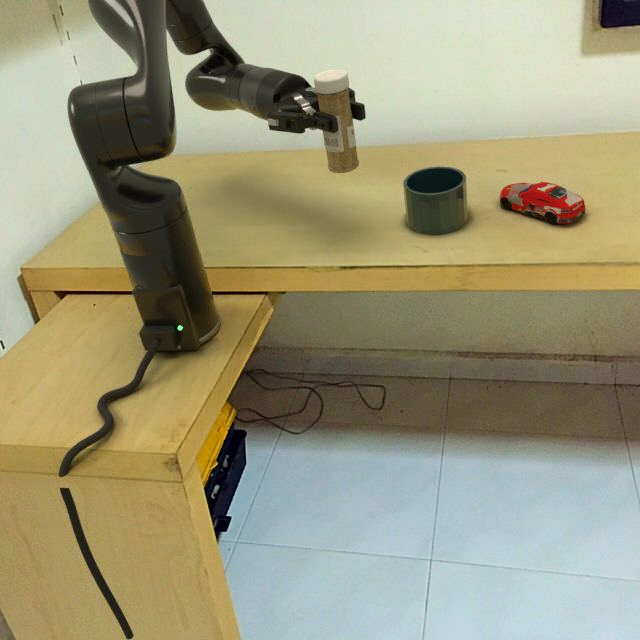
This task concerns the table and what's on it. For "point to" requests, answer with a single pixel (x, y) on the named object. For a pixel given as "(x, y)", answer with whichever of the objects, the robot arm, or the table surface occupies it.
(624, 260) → the table surface
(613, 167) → the table surface
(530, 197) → the race car
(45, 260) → the table surface
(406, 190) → the cup
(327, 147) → the sprinkles bottle
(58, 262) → the table surface
